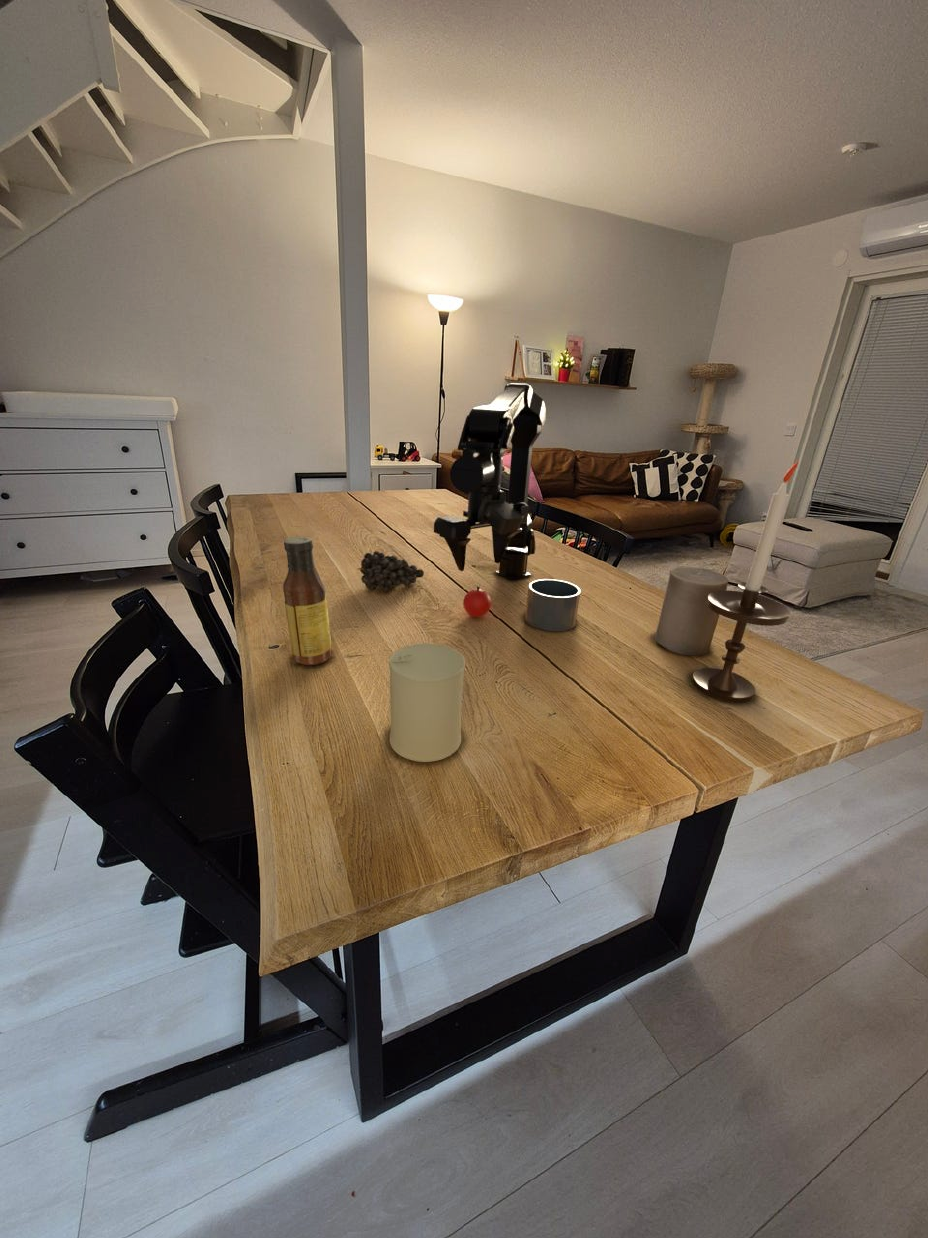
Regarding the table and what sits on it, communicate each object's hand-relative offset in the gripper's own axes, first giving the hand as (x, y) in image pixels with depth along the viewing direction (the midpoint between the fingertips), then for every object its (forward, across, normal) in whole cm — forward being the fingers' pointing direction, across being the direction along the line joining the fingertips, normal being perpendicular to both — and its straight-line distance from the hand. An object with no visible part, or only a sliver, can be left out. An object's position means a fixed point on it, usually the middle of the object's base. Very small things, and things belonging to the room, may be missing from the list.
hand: (479, 566), depth 97 cm
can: (+11, -31, -26) cm, 42 cm away
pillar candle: (+11, +24, -31) cm, 41 cm away
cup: (+10, +11, -10) cm, 18 cm away
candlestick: (+10, +15, -43) cm, 47 cm away
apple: (+10, 0, 0) cm, 10 cm away
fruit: (+11, -6, +22) cm, 25 cm away
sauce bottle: (+11, -34, +2) cm, 36 cm away
